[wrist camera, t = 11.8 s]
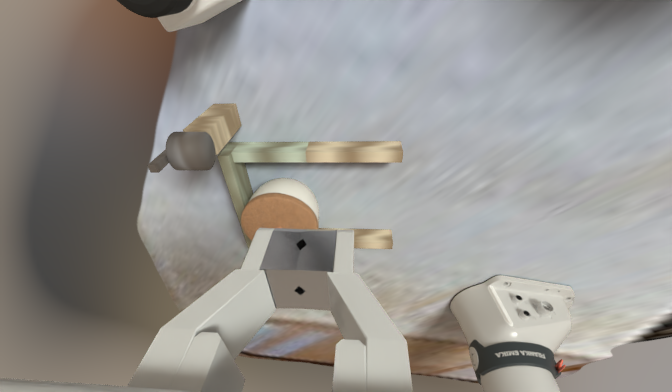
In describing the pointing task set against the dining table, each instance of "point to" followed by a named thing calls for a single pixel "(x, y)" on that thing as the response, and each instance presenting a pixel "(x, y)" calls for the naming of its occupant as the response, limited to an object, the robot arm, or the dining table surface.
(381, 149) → the bay
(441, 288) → the dining table surface
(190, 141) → the winch post
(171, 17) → the medicine bottle
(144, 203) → the dining table surface
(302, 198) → the lidded jar
